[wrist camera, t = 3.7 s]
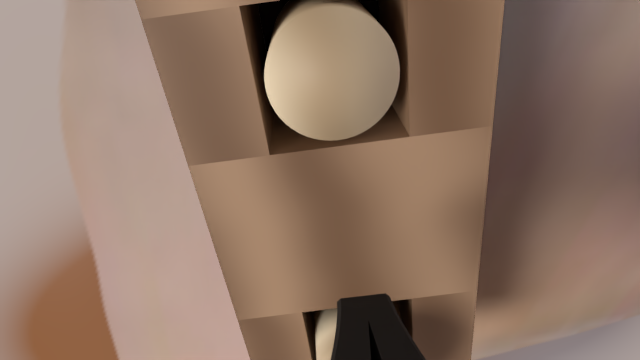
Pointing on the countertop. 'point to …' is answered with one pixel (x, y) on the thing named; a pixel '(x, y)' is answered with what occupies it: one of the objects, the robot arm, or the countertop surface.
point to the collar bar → (338, 172)
